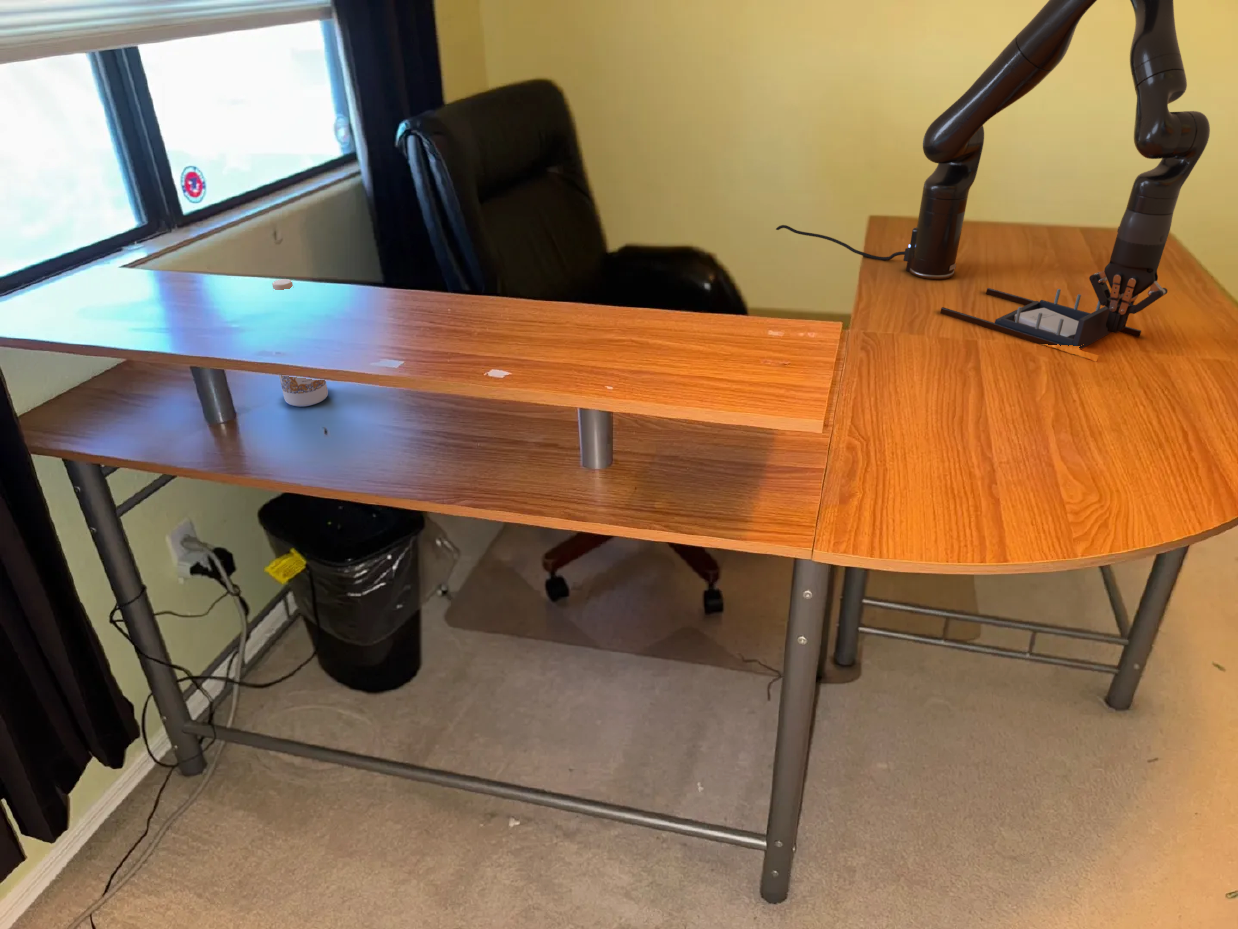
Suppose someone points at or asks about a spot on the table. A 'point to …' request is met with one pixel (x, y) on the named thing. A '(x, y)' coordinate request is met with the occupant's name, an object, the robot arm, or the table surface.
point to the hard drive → (1049, 321)
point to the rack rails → (1010, 330)
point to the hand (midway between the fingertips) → (1113, 331)
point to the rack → (1087, 329)
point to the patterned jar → (300, 388)
